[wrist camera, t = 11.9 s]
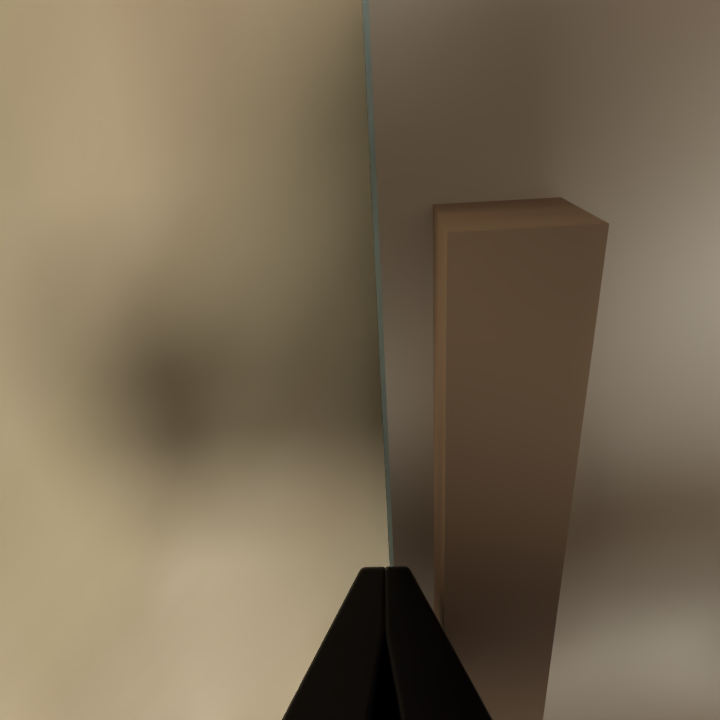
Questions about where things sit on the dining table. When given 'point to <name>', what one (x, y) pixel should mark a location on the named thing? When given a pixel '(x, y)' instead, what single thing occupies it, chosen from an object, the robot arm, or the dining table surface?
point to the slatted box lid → (556, 343)
